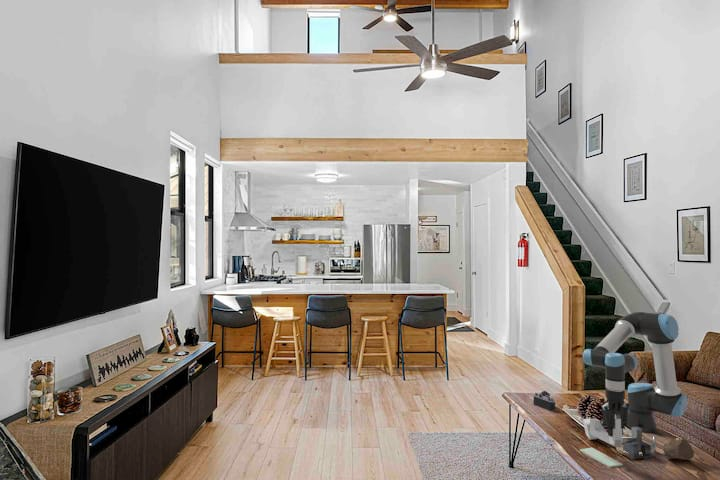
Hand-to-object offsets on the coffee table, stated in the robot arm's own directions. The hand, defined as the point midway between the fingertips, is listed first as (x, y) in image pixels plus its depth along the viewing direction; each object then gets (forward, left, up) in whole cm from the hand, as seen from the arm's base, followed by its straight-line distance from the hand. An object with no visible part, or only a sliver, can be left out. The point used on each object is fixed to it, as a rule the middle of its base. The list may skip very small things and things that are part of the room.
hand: (615, 442), depth 208 cm
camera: (-21, -74, -10) cm, 77 cm away
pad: (+1, -8, -10) cm, 13 cm away
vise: (-19, -7, -10) cm, 22 cm away
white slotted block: (0, 0, -1) cm, 1 cm away
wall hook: (-15, -26, -10) cm, 32 cm away
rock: (-31, +2, -10) cm, 33 cm away
